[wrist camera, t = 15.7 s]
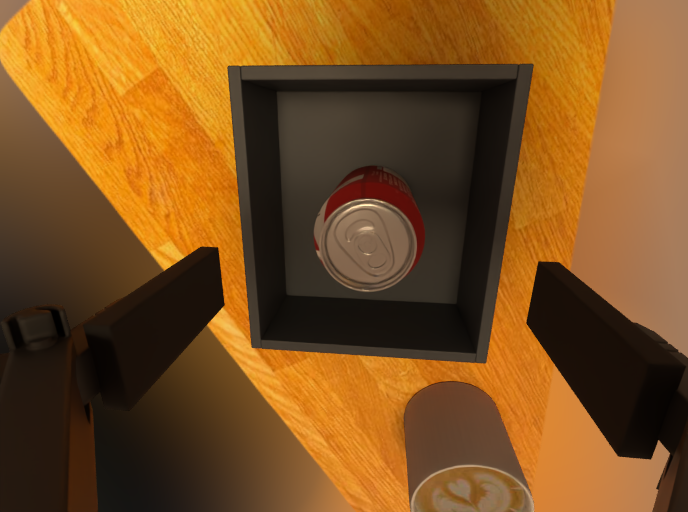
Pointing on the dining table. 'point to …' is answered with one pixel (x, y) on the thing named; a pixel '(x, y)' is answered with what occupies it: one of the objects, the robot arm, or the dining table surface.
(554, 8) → the dining table surface
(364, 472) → the dining table surface
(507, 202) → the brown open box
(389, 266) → the soda can
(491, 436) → the coffee mug
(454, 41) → the dining table surface
